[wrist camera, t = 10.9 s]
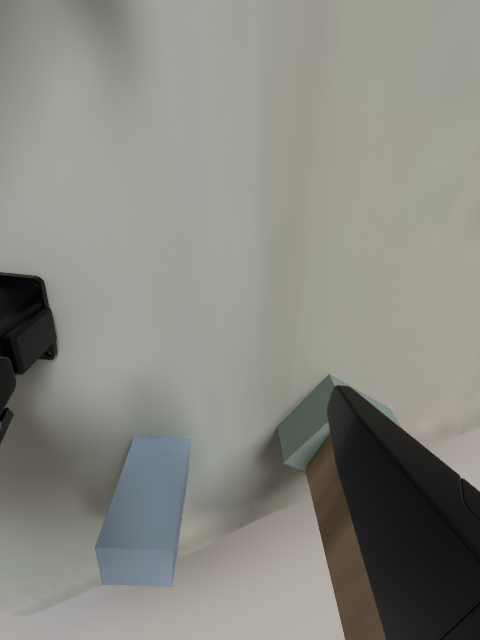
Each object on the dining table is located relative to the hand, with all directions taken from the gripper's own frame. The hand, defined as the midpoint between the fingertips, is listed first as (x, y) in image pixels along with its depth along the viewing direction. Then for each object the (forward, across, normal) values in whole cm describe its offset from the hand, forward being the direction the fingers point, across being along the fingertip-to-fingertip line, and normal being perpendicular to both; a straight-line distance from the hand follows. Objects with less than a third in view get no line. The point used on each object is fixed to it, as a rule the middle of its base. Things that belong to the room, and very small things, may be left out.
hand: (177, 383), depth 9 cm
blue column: (+13, +3, +20) cm, 24 cm away
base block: (+13, -12, +14) cm, 22 cm away
